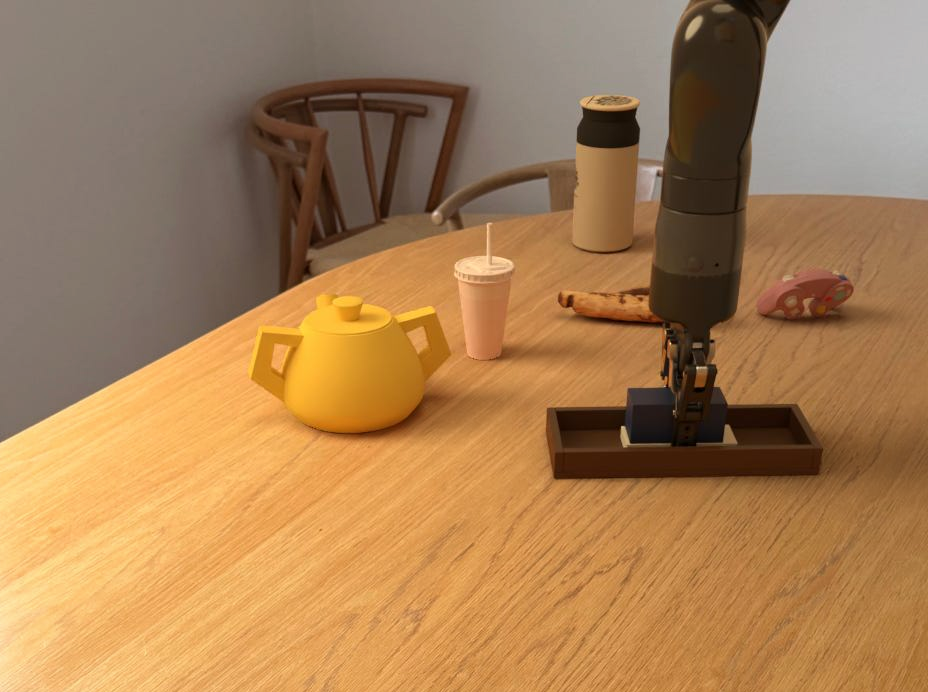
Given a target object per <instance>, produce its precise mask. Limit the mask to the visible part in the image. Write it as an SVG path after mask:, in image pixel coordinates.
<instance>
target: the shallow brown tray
mask: <svg viewBox="0 0 928 692" xmlns="http://www.w3.org/2000/svg"><path fill="white" fill-rule="evenodd" d="M545 415H546V416H545V419H546V421H545V435H546V440H547V447H548V453H549V458H550V464H551V471H552V476H553V479H603V478H604V479H606V478H607V479H609V478H611V479H613V478H614V479H615V478H674V477H675V478H676V477H677V478H678V477H682V478H685V477H687V478H688V477H744V476H745V477H746V476H747V477H750V476H812V475H813V476H814V475H815V476H818V475H820V471H821V469H820V468H821V464H822V458H823V452H824V447H823V445H822V444H821V442H820V440H819V439H818V437H817V435H816V433H815V431H814V430H813V428H812V426H811V425H810V423H809V420H807V418H806V416H805V415H804V413H803V410H802V409H801V407H800V406H799V404H798V403H763V404H762V403H760V404H759V403H756V404H755V403H754V404H749V403H748V404H747V403H746V404H728V407H727V415H726V423H725V425H729V426H730V428H731V430H732V432H733V435H734V437H735V439H736V441H737V443H738V444H737V446H685V447H623V445H622V441H621V438H620V436H621V426H625V415H626V405H618V406H617V405H615V406H614V405H613V406H612V405H610V406H608V405H607V406H556V407H554V406H553V407H546V414H545Z"/></svg>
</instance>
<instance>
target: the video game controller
mask: <svg viewBox="0 0 928 692" xmlns="http://www.w3.org/2000/svg"><path fill="white" fill-rule="evenodd" d="M854 290H855V287H854V285H853V283H852V281H851V280H850V279H849V277H847V276H846V275H845V274H843V272H842V270H841V269H835V270H834V271H833V272H832V271H829V270H827V269H822V268H808V269H805V270H803V271H799V272H798V273H795V274H792V273H789V274H785V275H784V276H783V277H782V278H780V279H779V278H778V280H776V281H775V282H774V283H773V284H772V285H771V286H770V287H769V288H768V289H767V290H765V291H763V292H762V293H761V294H760V295H759V296H758V299H757V302H756V310H757V312H758V313H759V315H762V316H769V315H771V314H772V313H775V312H776V311H782V312H783V314H784V316H785V318H786V319H787V320H790V321H792V320H795V319H797V318H799V317H801V316H802V315H803V314H804V313H805V311H806V310H805V309H806V308H805V305H804V300H808V299H811V300H810V301H809V303H808V305H807V309H808V310H809V313H810V314H811V316H812V317H814V318H820V317H822V316H824V315H826V314H827V313H828V312H829V311H830V310H831V309H834V308H837V307H839V306H840V305H842V304H844V303H845V302H846V301H848V300H849V299H850V298H851V297H852V295H853V294H854Z"/></svg>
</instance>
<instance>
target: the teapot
mask: <svg viewBox="0 0 928 692" xmlns="http://www.w3.org/2000/svg"><path fill="white" fill-rule="evenodd" d="M315 303H316V309H315V310H313V311H311V312H309V313H308V314H307V315H306V316H305V317H304V319H303V320H302V322H301V323H300V324H299V326H298V328H297V327H285V326H274V325H262V324H260V325H258V330H257V334H256V339H255V342H254V346H253V351H252V355H251V359H250V363H249V368H248V371H247V372H248V376H249V378H250V380H251V381H252V382H254V383H255V384H256V385H258V386H260V387H261V388H262V389H264V390H265V391H267V392H268V393H269V394H271V395H272V396H274V397H275V398H277V399H278V400H280V401H281V402H282V404H283V405H284V406H285V408H286V409H287V410H288V411H289V412H290V413H291V414H292V415H293V416H294V417H295V418H296V419H298V420H299V421H300V422H301V423H303V424H304V425H305V426H308V427H310V426H311V427H310V428H312V427H313V428H312V429H315V428H316V429H315V430H319V431H322V430H323V432H329V433H337V434H359V433H360V434H361V433H368V432H369V433H370V432H374V431H379V430H384V429H387V428H390V427H393V426H395V425H398V424H400V423H401V422H403V421H405V420H406V419H407V418H408V417H409V416H410V415H411V414H412V413H413V412H414V410H416V408H417V407H418V406H419V404H420V403H421V402H422V400H423V399H424V395H425V392H426V382H427V381H428V380H429V379H430V378H431V377H432V376H433V375H434V374H435V373H436V371H438V369H440V368H441V367H442V366H443V364H444V363H446V362H447V361H448V360H449V358H450V357H451V356H452V355H453V354H452V352H451V349H450V347H449V344H448V341H447V338H446V335H445V333H444V330H443V328H442V325H441V322H440V320H439V319H440V318H439V317H438V316H439V315H438V314H437V311H436V310H435V309H434V307H433V306H432V305H427V306H425V307H421V308H418V309H415V310H410V311H408V312H404V313H401V314H400V313H399V314H397V315H393V314H392V313H391V312H389V311H388V310H387V309H386V308H384V307H381V306H377V305H372V304H368V303H367V304H366V303H364V300H363V298H360V297H359V296H355V295H343V296H339V295H338V294H336V293H324V294H321V295H319V296H317V297H316V298H315ZM421 327H422V328H423V331H424V335H425V339H426V344H427V345H426V346H425V347H424V348H423V349H421V351H419V353H418V352H417V349H416V347H415V345H414V344H413V342H412V341H411V339H410V337H409V336H408V334H407V333H410V332H411V331H414V330H417V329H419V328H421ZM275 344H276V345H283V346H288V348H287V349H286V352H285V354H284V358H283V361H282V363H281V367H280V368H281V369H280V371H279V370H278V369H276V368H275V367H272V365H273V357H274V356H273V355H274V352H275V351H274V350H275Z"/></svg>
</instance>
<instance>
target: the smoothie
mask: <svg viewBox="0 0 928 692" xmlns="http://www.w3.org/2000/svg"><path fill="white" fill-rule="evenodd" d="M515 268H516V265H515V263H514V262H513V261H512V260H510V259H508V258H505V257H501V256H495V255H493V222H487V223H486V255H478V256H477V255H475V256H470V257H469V256H468V257H464V258H462V259H460V260H458V261H456V262H455V264H454V272H453V275H454V278H456V279H457V284H458V293H459V300H460V308H461V315H462V323H463V324H462V325H463V333H464V339H465V348H466V355H467V356H468V357H469V358H470V359H473V358H474V360H478V361H489V360H490V359H491V360H495V359H497V358H496V357H498V358H500V356H501V355H502V351H503V342H504V336H505V329H506V323H507V314H508V308H509V301H510V293H511V286H512V280H513V278H514V277H515V275H516V272H515V270H516V269H515ZM494 358H495V359H494Z"/></svg>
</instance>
